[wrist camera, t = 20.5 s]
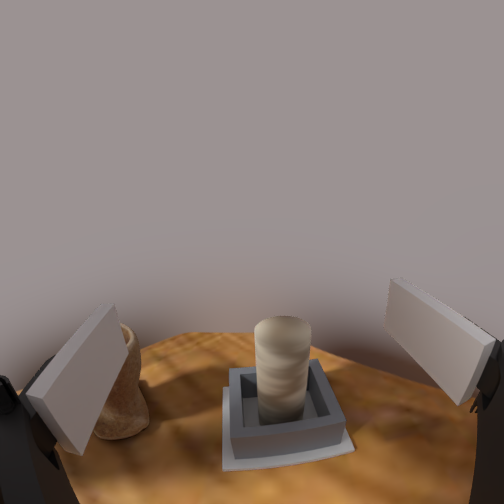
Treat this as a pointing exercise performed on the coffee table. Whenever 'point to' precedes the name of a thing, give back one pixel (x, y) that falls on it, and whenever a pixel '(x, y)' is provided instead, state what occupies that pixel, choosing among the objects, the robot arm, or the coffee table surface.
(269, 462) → the well
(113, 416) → the tan boot
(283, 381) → the peg
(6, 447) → the robot arm
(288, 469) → the coffee table surface
